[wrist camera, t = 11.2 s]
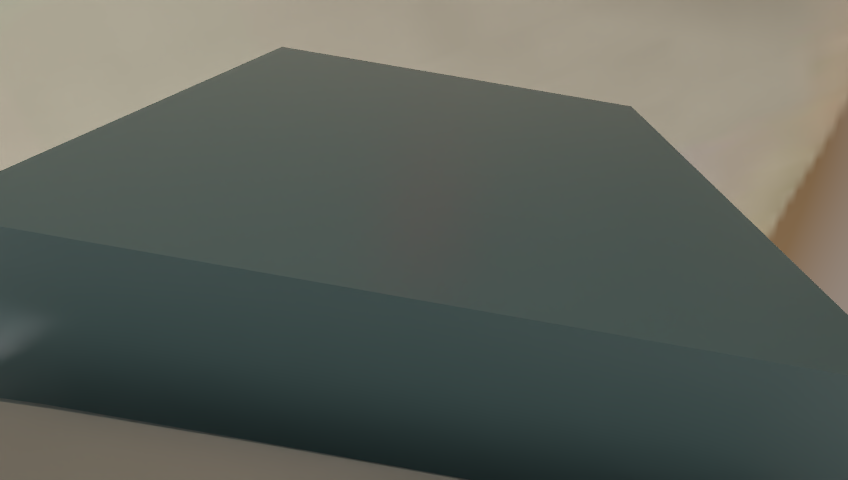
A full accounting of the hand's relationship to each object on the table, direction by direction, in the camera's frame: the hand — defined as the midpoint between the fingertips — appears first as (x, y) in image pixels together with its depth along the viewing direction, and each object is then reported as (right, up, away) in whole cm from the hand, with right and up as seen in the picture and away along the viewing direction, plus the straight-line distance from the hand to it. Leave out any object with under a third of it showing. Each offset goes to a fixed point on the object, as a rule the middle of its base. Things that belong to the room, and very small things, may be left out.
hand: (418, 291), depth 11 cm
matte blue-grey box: (0, +1, +3) cm, 3 cm away
